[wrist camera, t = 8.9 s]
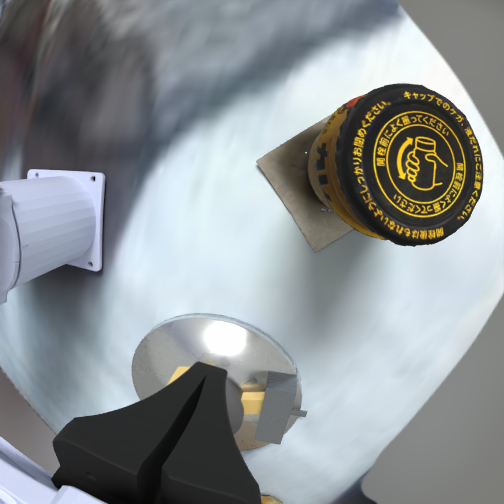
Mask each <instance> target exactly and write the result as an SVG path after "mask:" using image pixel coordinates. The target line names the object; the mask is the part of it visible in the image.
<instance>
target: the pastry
mask: <svg viewBox="0 0 504 504" xmlns="http://www.w3.org/2000/svg"><path fill="white" fill-rule="evenodd" d="M261 501H262V504H283V503H282V502H281V501H279V500H277V499H276V498H275V497H272V496H269V495H268V496H262V495H261Z"/></svg>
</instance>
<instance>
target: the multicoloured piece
mask: <svg viewBox="0 0 504 504" xmlns="http://www.w3.org/2000/svg"><path fill="white" fill-rule="evenodd" d="M189 368H190V367H178V368H177V369H176V371H175V372H174V374H173V376H172V377H171V379H170V381H169V382H168V384H167V385H169V384H170V383H171V382H173V381H174V380H176V379H177V378H178V377H180V376H181V375H182V374H183V373H184V372H186V371H187V370H188V369H189ZM264 394H265V392H242V390H241V389H240V388H239V387H238V386H237V385H236V384H235V383H234V382H233V381H231V380H230V379H228V378H226V401H227V409H228V415H229V420H230V424H231V428H232V432H233V435H234V434H235V433H236V432H237V431H238V430H239V429H240V427H241V425H242V421H243V417H244V414H260V411H261V407H262V403H263V398H264Z"/></svg>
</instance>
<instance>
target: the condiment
mask: <svg viewBox="0 0 504 504" xmlns="http://www.w3.org/2000/svg"><path fill="white" fill-rule="evenodd" d="M305 152H307V154H306V153H305ZM256 162H257V164H258V165H259V167H260V168H261V170H262V171H263V172H264V174H265V175H266V177H267V178H268V180H269V181H270V183H271V184H272V186H273V187H274V189H275V190H276V192H277V194H278V195H279V196H280V198H281V199H282V201H283V203H284V204H285V206H286V207H287V209H288V210H289V212H290V213H291V214H292V217H293V218H294V220H295V221H296V223H297V224H298V226H299V228H300V229H301V231H302V232H303V234H304V235H305V237H306V239H307V240H308V242H309V244H310V245H311V247H312V248H313V250H314V252H317V251H319V250H320V249H322V248H324V247H326V246H327V245H329V244H330V243H332V242H334V241H335V240H337V239H339V238H340V237H342V236H343V235H345V234H346V233H348V232H350V231H352V230H353V229H355V230H357V231H359V232H361V233H363V234H366V235H368V236H371V237H374V238H379V239H382V240H390V241H391V242H393V243H395V244H398V245H401V246H413V247H415V246H416V245H429V244H435V243H437V242H439V241H442V240H444V239H445V238H447V237H448V236H450V235H451V234H453V233H455V232H456V231H457V230H458V229H459V228H460V227H462V226H463V225H464V224H465V223H466V222H467V221H468V220H469V218H470V216H471V214H472V211H473V209H474V207H475V205H476V203H477V202H478V200H479V199H480V196H481V192H482V185H483V160H482V153H481V149H480V146H479V143H478V141H477V139H476V137H475V135H474V132H473V130H472V128H471V126H470V124H469V122H468V120H467V118H466V116H465V115H464V114H463V113H462V112H461V111H460V110H459V109H457V107H456V106H455V105H454V104H453V103H452V102H451V101H450V100H448V99H447V98H445V97H444V96H442V95H440V94H438V93H437V92H435V91H432V90H430V89H428V88H426V87H424V86H422V85H415V84H392V85H385V86H384V87H380V88H378V89H374V90H372V91H370V92H369V93H368V94H365V95H363V96H359V97H357V98H354V99H352V100H350V101H349V102H347V103H345V104H343V105H342V106H341V107H340V108H338V109H337V110H336V111H335V112H334V113H333V114H331V115H330V116H328V117H326V118H325V119H323V120H321V121H320V122H318V123H316V124H315V125H313V126H311V127H310V128H308V129H306V130H305V131H303V132H301V133H299V134H298V135H297V136H295V137H293V138H292V139H290V140H288V141H287V142H285V143H284V144H282V145H280V146H279V147H277V148H276V149H274V150H273V151H271V152H269V153H268V154H266V155H265V156H263V157H262V158H260V159H259V160H257V161H256ZM321 208H323V209H326V211H322V210H321ZM328 209H330V210H332V211H331V212H329V211H328Z"/></svg>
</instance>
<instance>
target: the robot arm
mask: <svg viewBox="0 0 504 504" xmlns="http://www.w3.org/2000/svg"><path fill="white" fill-rule="evenodd" d="M38 175H39V176H38ZM94 176H95V182H94V180H93V178H94ZM104 189H105V176H104V174H103V173H96V172H80V171H61V170H36V169H32V170H29V172H28V176H27V179H22V180H13V181H4V182H0V305H1V304H3V303H5V302H7V294H8V291H9V290H11V289H13V288H15V287H17V286H19V285H21V284H23V283H25V282H27V281H29V280H32V279H34V278H36V277H38V276H40V275H42V274H44V273H47V272H49V271H51V270H53V269H55V268H58V267H60V266H62V265H64V264H69V265H73V266H77V267H80V268H84V269H88V270H92V271H99V270H101V268H102V226H103V204H104ZM91 262H92V264H93V266H92V265H91ZM227 374H228V372H227V370H226V369H223V368H219V367H216V366H213V365H209V364H206V363H203V362H199V361H198V362H195V363H194V364H193V365H192V366H191V367H190V368H189V369H188V370H187V371H186V372H184V373H183V374H182V375H181V376H180V377H178V378H177V379H176V380H174V381H173V382H171V383H170V384H169V385H167V386H166V387H164V388H162V389H161V390H159V391H158V392H156V393H154V394H153V395H151V396H149V397H147V398H145V399H143V400H141V401H139V402H137V403H134V404H132V405H129V406H127V407H124V408H121V409H118V410H114V411H111V412H107V413H103V414H98V415H92V416H85V417H76V418H74V419H73V420H71V421H70V422H69V423H68V424H67V425H66V426H65V427H64V428H63V429H62V430H61V431H60V432H59V434H58V435H57V436H56V437H55V438H54V440H53V447H54V451H55V453H56V456H57V458H58V461H59V463H60V467H59V469H58V470H57V471H56V473H55V474H54V475H52V474H51V473H49V472H48V471H46V470H45V469H43V468H42V467H40V466H39V465H37V464H36V463H35V462H33V461H32V460H30V459H29V458H28V457H26V456H25V455H24V454H22V453H21V452H20V451H18V450H17V449H15V448H14V447H13V446H12V445H10V444H9V443H8V442H7V441H6V440H4V439H3V438H2V437H1V436H0V504H262V501H261V494H260V489H259V485H258V483H257V482H256V480H255V479H254V477H253V476H252V474H251V472H250V471H249V469H248V467H247V465H246V463H245V462H244V460H243V457H242V455H241V453H240V451H239V448H238V446H237V444H236V441H235V438H234V435H233V432H232V428H231V424H230V420H229V415H228V409H227V401H226V378H227Z"/></svg>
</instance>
